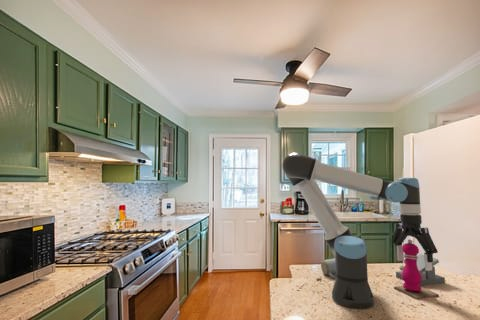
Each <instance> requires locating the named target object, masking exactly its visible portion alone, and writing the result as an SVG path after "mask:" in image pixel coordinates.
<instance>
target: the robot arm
mask: <svg viewBox="0 0 480 320" xmlns="http://www.w3.org/2000/svg"><path fill="white" fill-rule="evenodd" d="M281 165H282V170H283V172H284V174H285V175H286V176H287V177H288V179H289V181H290V183H291V185H292V186H293V188H297V189H298V190H299V192H300V193H301V195H302V197H303V199H304V201H306V204H307V206H308V207H309V209H310V210H311V212H312V214H313V216H314V217H315V219H316V220H317V222H318V224H319V226H320V228H321V229H322V231H323V233H324V234H325V235H324V241H325V243H326V245H327V246H328V247H329V249H330V251H331V253H332V254H333V258H335V267H336V275H335V276H336V279H334V283H333V287H332V290H331V298H332V300H333V302H335V303H337V304H338V305H341V306H343V307H346V308H350V309H357V310H358V309H360V310H361V309H362V310H363V309H364V310H365V309H369V308H373V306H374V305H375V298H374V294H373V292H372V289H371V286H370V284H369V278H368V258H367V253H368V249H367V245H366V241H364V240H363V238H360V237H357V236H353V233H352V232H351V231H350V229H349V227H348V226H345V225H343V223H342V222H341V221H340V219H339V216H338V215H337V214H336V213H335V211H334V209H333V207H332V206H331V204H330V203H329V201H328V199H327V198H326V196H325V194H324V193H323V191H322V190H321V188H320V186H319V184H318V183H317V181H318V182H322V183H325V184H329V185H333V186H335V187H339V188H344V189H347V190H350V191H353V192H357V193H361V194H364V195H367V196H369V198H370V199H371V200H374V201H375V200H376V201H386V202H391V203H394V204H395V203H399V213H401V214H400V215H399V216H400V222H398V223H396V225H395V230H394V233H393V235H392V239H391V243H393V244H394V245H395V252H396V259H397V261H398V262H404V260H405V258H404V254H405V253H404V252H403V250H402V247H403V243H404V242H405V240H406V239H407V237H409V236H410V237H412V238H415V240H417V241H418V243H419V245H420V246H421V248H422V249H423V251H424V253H423V255H424V262H425V270H426V271H430V270H432V262H433V258H434V256H433V255H434V254H438V252H439V251H438V249H437V247H436V245H435V243H434V240H433V238H432V237H431V235H430V232H429V228H428V227H421V226H422V221H423V220H422V215H421V213H422V210H421V209H422V208H421V197H420V195H421V194H420V192H421V191H420V189H421V188H420V183H419V179H418V178H416V177H399V178H398V181H397V182H396V181H394V182H393V181H391V180H385V179H382V178H380V177H375V176H371V175H367V174H364V173H360V172H356V171H353V170H349V169H345V168H342V167H340V166H334V165H332V164H331V165H330V164H327V163H323V162H320V161H319V160H318V159H317V158H314V157H312V156H311V157H310V156H309V155H305V154H303V153H301V152H291V153H289V154H287V155H286V156H285V157H284V159H283V160H282V164H281Z"/></svg>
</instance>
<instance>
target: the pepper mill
mask: <svg viewBox="0 0 480 320" xmlns="http://www.w3.org/2000/svg"><path fill="white" fill-rule="evenodd" d="M402 246H403V247H402V250H403V254H404V260H405V267H404V269H403V272H402V279H403V280H402V279H401V280H402V281H403V282H404V283H402V286H403V288H405V289H408V290H413V291H421V287H422V286H420V285H419V284H420V283H421V282H422V277H421V274H420V272H419V270H418V267H417V259H418V258H417V257H418V256H419V255H418V254H419V253H420V249H419V247H418V245H416V244H414V241H413V239H408V240H407V242H406V243H404V244H402Z"/></svg>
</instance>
